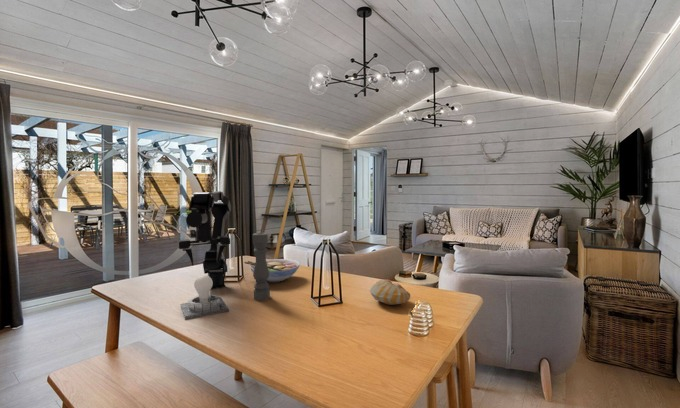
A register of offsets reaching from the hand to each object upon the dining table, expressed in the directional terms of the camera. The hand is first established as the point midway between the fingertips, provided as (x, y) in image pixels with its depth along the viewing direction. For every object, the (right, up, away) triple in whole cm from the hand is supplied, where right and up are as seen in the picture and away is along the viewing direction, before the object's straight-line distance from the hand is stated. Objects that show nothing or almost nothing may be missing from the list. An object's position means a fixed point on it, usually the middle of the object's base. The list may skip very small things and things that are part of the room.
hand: (205, 263), depth 135 cm
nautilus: (+72, -13, -7) cm, 73 cm away
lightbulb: (+5, -13, -13) cm, 19 cm away
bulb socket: (+5, -14, -13) cm, 19 cm away
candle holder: (+23, -13, -2) cm, 26 cm away
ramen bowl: (+23, -12, +22) cm, 34 cm away
